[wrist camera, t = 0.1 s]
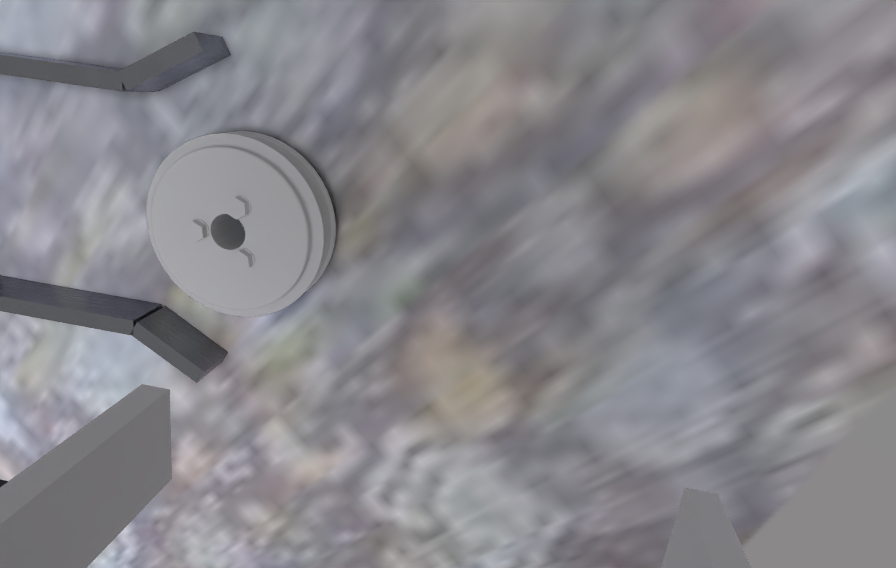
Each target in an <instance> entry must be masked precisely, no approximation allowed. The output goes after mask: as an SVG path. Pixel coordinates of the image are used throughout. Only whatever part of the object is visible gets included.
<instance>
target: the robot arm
mask: <svg viewBox="0 0 896 568" xmlns="http://www.w3.org/2000/svg"><path fill="white" fill-rule="evenodd" d="M171 479H172V462H171V425H170V390H169V389H164V388H158V387H153V386H148V385H143V384H142V385H141V386H139V387H138V388H136V389H135V390H134V391H132V392H131V393H130V394H128V395H127V396H125V397H124V398H123V399H121V400H120V401H119V402H117V403H116V404H114V405H113V406H112V407H110V408H109V409H108V410H106V411H105V412H103V413H102V414H101V415H99V416H98V417H97V418H95V419H94V420H92V421H91V422H90V423H88V424H87V425H86V426H84V427H83V428H81V429H80V430H79V431H77V432H76V433H75V434H73V435H72V436H70V437H69V438H68V439H66V440H65V441H64V442H62V443H61V444H59V445H58V446H57V447H55V448H54V449H52V450H51V451H50V452H48V453H47V454H46V455H44V456H43V457H41V458H40V459H39V460H37V461H36V462H35V463H33V464H32V465H30V466H29V467H28V468H26V469H25V470H24V471H22V472H21V473H19V474H18V475H17V476H15V477H14V478H13V479H11V480H10V481H4V480H0V568H87V567H88V566H89V565H90V564H91V563H92V561H93V560H94V559H95V558H96V557H97V556H98V555H99V554H100V553H101V552H102V551H103V550H104V549H105V548H106V547H107V546H108V545H109V544H110V543H111V542H112V541H113V540H114V538H115V537H116V536H117V535H118V534H119V533H120V532H121V531H122V530H123V529H124V528H125V527H126V526H127V525H128V524H129V523H130V522H131V521H132V520H133V519H134V518H135V517H136V516H137V514H138V513H139V512H140V511H141V510H142V509H143V508H144V507H145V506H146V505H147V504H148V503H149V502H150V501H151V500H152V499H153V498H154V497H155V496H156V495H157V494H158V493H159V492H160V490H161V489H162V488H163V487H164V486H165V485H166V484H167V483H168V482H169V481H170V480H171ZM661 568H751V566H750V563H749V561H748V559H747V557H746V555H745V553H744V550H743V548H742V546H741V544H740V542H739V539H738V537H737V535H736V533H735V531H734V528H733V526H732V524H731V522H730V520H729V517H728V515H727V513H726V511H725V509H724V506H723V504H722V502H721V500H720V498H719V495H718V494H715V493H710V492H704V491H699V490H694V489H689V488H685V489H684V493H683V496H682V499H681V503H680V506H679V509H678V513H677V516H676V519H675V523H674V526H673V529H672V533H671V536H670V539H669V543H668V546H667V549H666V553H665V556H664V559H663V563H662V566H661Z"/></svg>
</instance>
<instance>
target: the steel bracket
mask: <svg viewBox="0 0 896 568" xmlns="http://www.w3.org/2000/svg"><path fill="white" fill-rule="evenodd" d="M229 55H230V52H229V50H228V48H227V46H226V44H225V42H224V40H223V38H222V37H219V36H214V35H208V34H203V33H197V32H192V33H190V34H189V35H187V36H185V37H183V38H181V39H179V40H177V41H175V42H174V43H172V44H170V45H168V46H166V47H164V48H162V49H160V50H158V51H157V52H155V53H153V54H151V55H149V56H147V57H145V58H143V59H142V60H140V61H138V62H136V63H134V64H132V65H130V66H128V67H126V68H125V69H119V68H112V67H105V66H98V65H91V64H83V63H76V62H69V61H62V60H55V59H48V58H40V57H33V56H26V55H19V54H12V53H5V52H0V74H5V75H12V76H19V77H26V78H33V79H40V80H47V81H54V82H61V83H68V84H75V85H82V86H89V87H95V88H102V89H109V90H116V91H141V92H155V91H160V90H162V89H164V88H166V87H168V86H170V85H172V84H174V83H176V82H178V81H180V80H182V79H184V78H186V77H188V76H190V75H192V74H194V73H196V72H198V71H200V70H202V69H204V68H206V67H207V66H209V65H211V64H213V63H215V62H217V61H219V60H221V59H223V58H225V57H227V56H229ZM0 311H3V312H9V313H14V314H20V315H25V316H30V317H36V318H41V319H47V320H52V321H57V322H63V323H68V324H74V325H79V326H84V327H90V328H95V329H101V330H106V331H111V332H117V333H122V334H128V335H132V336H133V337H135V338H136V339H138V340H139V341H140V342H142V343H143V344H144V345H146V346H147V347H148V348H150V349H151V350H153V351H154V352H155V353H157V354H158V355H159V356H161V357H162V358H164V359H165V360H166V361H168V362H169V363H170V364H172V365H173V366H174V367H176V368H177V369H179V370H180V371H181V372H183V373H184V374H185V375H187V376H188V377H190V378H191V379H192V380H194V381H195V382H196V383H197V382H199V381H200V380H201V379H202V378H203V377H205V376H206V375H207V374H208V373H209V372H210V371H212V370H213V369H214V368H215V367H216V366H218V365H219V364H220V363H221V362H222V360H223V359H224V357H225V356H226V354H227V353H228V352H227V351H225V350H224V349H223V348H221V347H220V346H219V345H217V344H216V343H215V342H213V341H212V340H210V339H209V338H208V337H206V336H205V335H204V334H202V333H201V332H200V331H198V330H197V329H196V328H194V327H193V326H192V325H190V324H189V323H187V322H186V321H185V320H183V319H182V318H181V317H179V316H178V315H177V314H175V313H174V312H173V311H171V310H170V309H169V308H167V307H166V306H165V307H163V308H162V305H161V304H156V303H150V302H145V301H139V300H133V299H128V298H122V297H117V296H111V295H106V294H100V293H94V292H89V291H83V290H78V289H72V288H66V287H61V286H55V285H50V284H44V283H39V282H33V281H27V280H22V279H16V278H11V277H5V276H0Z"/></svg>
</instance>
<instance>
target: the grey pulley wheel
mask: <svg viewBox="0 0 896 568" xmlns="http://www.w3.org/2000/svg"><path fill="white" fill-rule="evenodd" d="M146 216H147V226H148V232H149V237H150V240H151V243H152V246H153V249H154V251H155V253H156V255H157V258H158V260H159V261H160V263H161V265H162V266H163V268H164V270H165V271H166V272H167V274H168V275H169V276H170V278H171V279H172V280H173V281H174V282H175V283H176V284H177V286H178V287H179V288H180V289H181V290H182V291H184V292H185V293H186V294H187V295H189V296H190V297H191V298H192V299H194V300H196V301H197V302H199V303H200V304H202V305H204V306H206V307H208V308H210V309H212V310H214V311H217V312H220V313H223V314H227V315H232V316H238V317H256V316H263V315H268V314H272V313H274V312H277V311H279V310H282V309H284V308H285V307H287V306H289V305H290V304H292V303H293V302H294V301H296V300H297V299H298V298H299V297H300V296H301V295H302V294H303V293H305V292H306V291H307V290H309V289H310V288H311V287H312V286H313V285H314V284H315V283H316V282H317V281H318V280H319V278H320V277H321V276H322V274H323V273H324V272H325V270H326V268H327V266H328V264H329V262H330V259H331V256H332V253H333V250H334V245H335V238H336V223H335V214H334V209H333V205H332V202H331V199H330V196H329V193H328V191H327V189H326V187H325V185H324V183H323V181H322V179H321V178H320V176H319V175H318V173H317V172H316V171H315V169H314V168H313V167H312V166H311V165H310V163H309V162H308V161H307V160H306V159H305V158H304V157H303V156H302V155H300V154H299V153H298V152H297V151H296V150H294V149H293V148H291V147H290V146H288V145H287V144H285V143H284V142H282V141H279V140H277V139H275V138H273V137H270V136H267V135H264V134H261V133H256V132H250V131H232V132H225V133H216V134H208V135H204V136H200V137H197V138H194V139H192V140H189V141H187V142H185V143H184V144H182V145H180V146H179V147H177V148H176V149H175V150H174V151H172V152H171V153H170V154H169V155H168V156H167V157H166V158H165V160H164V161H163V162H162V163H161V164H160V166H159V168H158V169H157V171H156V173H155V175H154V177H153V180H152V182H151V185H150V188H149V193H148V197H147V207H146ZM240 222H241V223H242V225H243V227H244V229H245V230H244V229H243V227H242V225H241V223H240Z"/></svg>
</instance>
